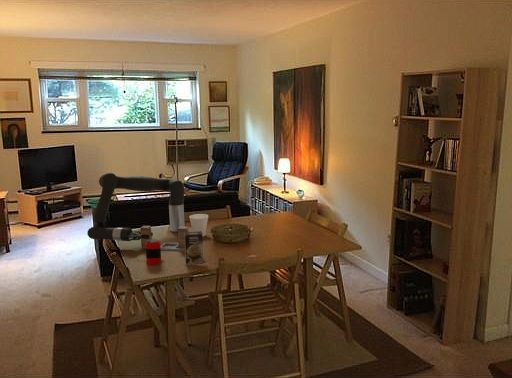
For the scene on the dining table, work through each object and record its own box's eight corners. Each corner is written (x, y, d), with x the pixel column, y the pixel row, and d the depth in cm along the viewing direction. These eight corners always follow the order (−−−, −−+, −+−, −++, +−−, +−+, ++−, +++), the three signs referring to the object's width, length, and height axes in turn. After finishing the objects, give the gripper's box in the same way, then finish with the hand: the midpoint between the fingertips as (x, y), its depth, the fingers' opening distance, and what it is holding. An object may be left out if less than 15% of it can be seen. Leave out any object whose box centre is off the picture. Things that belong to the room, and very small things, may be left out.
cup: (211, 236, 288) (210, 217, 286) (192, 239, 284) (191, 219, 282) (206, 232, 299) (205, 213, 297) (187, 234, 295) (187, 215, 293)
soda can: (143, 263, 244) (142, 240, 242) (156, 259, 249) (154, 237, 247) (151, 266, 239) (150, 243, 237) (164, 262, 244) (163, 240, 242)
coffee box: (185, 265, 239) (184, 235, 236) (185, 261, 246) (183, 231, 242) (203, 264, 241) (202, 234, 238) (202, 260, 247) (201, 230, 244)
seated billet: (181, 246, 265) (180, 226, 263) (189, 247, 264) (188, 226, 262) (178, 249, 261) (177, 228, 258) (186, 249, 260) (185, 228, 258)
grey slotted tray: (163, 246, 271) (162, 241, 271) (198, 247, 267) (197, 243, 267) (155, 253, 260) (154, 248, 259) (191, 254, 256) (191, 250, 255)
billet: (144, 245, 269) (143, 225, 267) (152, 246, 268) (150, 225, 266) (141, 248, 265) (140, 227, 262) (149, 248, 264) (147, 228, 262)
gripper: (116, 231, 260) (145, 232, 257) (127, 224, 274) (155, 225, 271) (117, 244, 262) (146, 245, 259) (128, 237, 275) (156, 238, 272)
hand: (150, 235), depth 265 cm, fingers closed on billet, 4 cm apart
